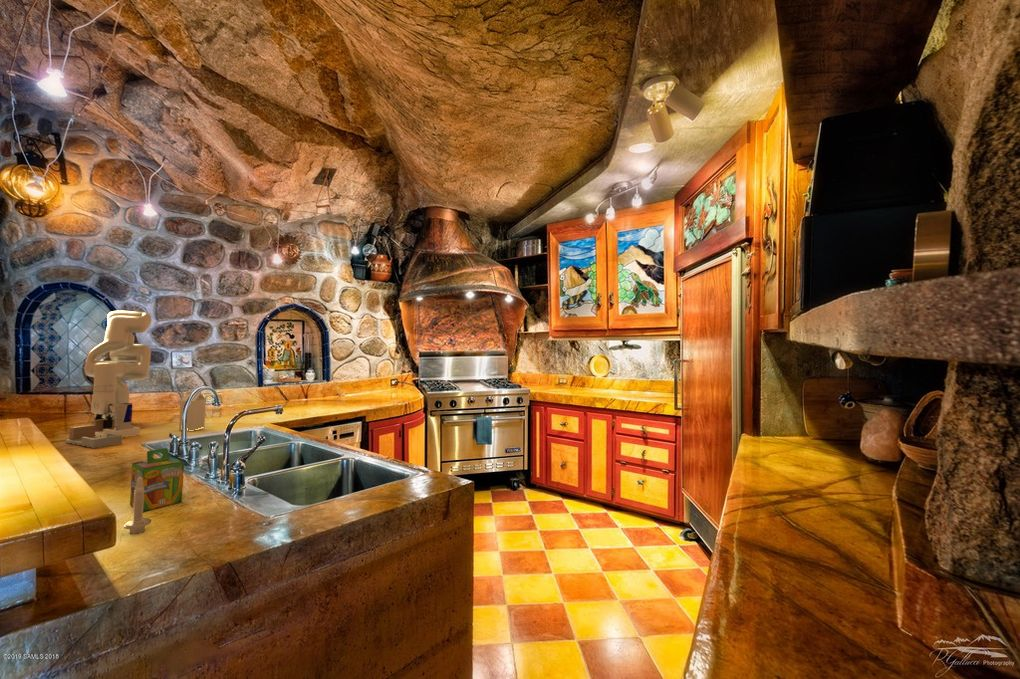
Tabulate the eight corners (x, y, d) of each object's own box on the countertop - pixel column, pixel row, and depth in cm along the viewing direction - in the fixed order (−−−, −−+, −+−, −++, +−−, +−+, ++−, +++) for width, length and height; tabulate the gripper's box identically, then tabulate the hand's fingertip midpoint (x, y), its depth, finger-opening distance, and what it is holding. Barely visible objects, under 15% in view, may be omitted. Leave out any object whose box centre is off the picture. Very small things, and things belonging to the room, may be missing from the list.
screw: (135, 527, 99) (156, 527, 99) (117, 536, 94) (138, 536, 94) (138, 473, 99) (158, 473, 99) (120, 479, 94) (141, 480, 94)
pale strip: (88, 434, 186) (88, 420, 186) (113, 430, 194) (114, 417, 195) (114, 439, 179) (115, 425, 179) (139, 435, 188) (140, 421, 188)
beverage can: (133, 436, 186) (134, 403, 186) (118, 438, 181) (120, 404, 182) (127, 434, 188) (129, 402, 188) (113, 436, 183) (114, 403, 184)
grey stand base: (65, 442, 171) (66, 427, 171) (94, 438, 179) (94, 424, 179) (93, 448, 164) (94, 432, 164) (121, 443, 172) (122, 428, 173)
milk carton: (193, 431, 198) (195, 392, 198) (178, 431, 198) (180, 392, 198) (204, 428, 205) (206, 391, 205) (190, 428, 205) (192, 390, 205)
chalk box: (140, 513, 107) (143, 456, 107) (128, 505, 111) (131, 450, 112) (183, 502, 114) (186, 449, 115) (170, 495, 119) (172, 444, 120)
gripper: (83, 388, 189) (81, 427, 189) (105, 391, 183) (103, 431, 183) (104, 387, 196) (102, 424, 196) (126, 389, 190) (124, 428, 190)
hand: (103, 427), depth 190 cm, fingers open, 6 cm apart
